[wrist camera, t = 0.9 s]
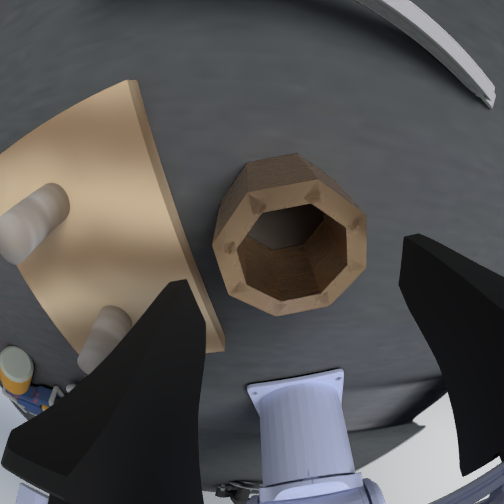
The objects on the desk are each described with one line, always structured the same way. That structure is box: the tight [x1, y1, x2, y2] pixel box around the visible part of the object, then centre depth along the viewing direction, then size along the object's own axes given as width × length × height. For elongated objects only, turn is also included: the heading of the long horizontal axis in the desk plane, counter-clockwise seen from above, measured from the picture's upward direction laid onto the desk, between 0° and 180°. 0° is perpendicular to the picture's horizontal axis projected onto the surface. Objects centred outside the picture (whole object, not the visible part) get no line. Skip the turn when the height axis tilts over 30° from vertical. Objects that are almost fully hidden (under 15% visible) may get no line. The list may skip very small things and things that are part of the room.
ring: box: [212, 153, 367, 316], centre depth 12 cm, size 6×6×4 cm
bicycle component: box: [215, 481, 263, 504], centre depth 46 cm, size 12×7×15 cm
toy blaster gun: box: [0, 346, 76, 416], centre depth 23 cm, size 21×4×15 cm
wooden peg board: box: [0, 80, 226, 375], centre depth 13 cm, size 16×12×5 cm
